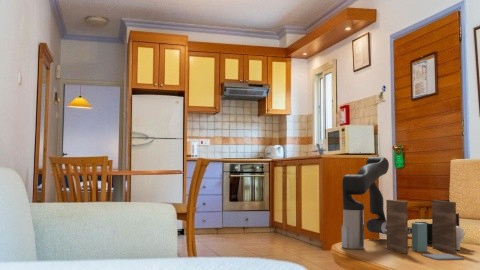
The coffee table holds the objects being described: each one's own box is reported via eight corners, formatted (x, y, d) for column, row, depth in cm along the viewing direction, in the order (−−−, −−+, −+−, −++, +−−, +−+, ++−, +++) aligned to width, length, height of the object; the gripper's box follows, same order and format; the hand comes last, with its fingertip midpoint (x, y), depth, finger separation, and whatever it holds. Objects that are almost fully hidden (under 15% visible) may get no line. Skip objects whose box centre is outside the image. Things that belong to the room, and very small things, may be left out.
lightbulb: (464, 250, 230) (463, 225, 231) (465, 252, 224) (465, 226, 225) (449, 249, 232) (448, 224, 233) (450, 251, 226) (449, 226, 227)
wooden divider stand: (404, 254, 214) (404, 201, 216) (386, 248, 230) (386, 199, 232) (456, 253, 219) (455, 202, 221) (435, 248, 235) (434, 200, 237)
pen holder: (415, 243, 249) (415, 223, 250) (413, 241, 258) (413, 221, 259) (436, 244, 247) (435, 224, 248) (433, 242, 256) (433, 222, 257)
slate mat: (436, 260, 200) (436, 258, 200) (421, 255, 211) (421, 254, 211) (463, 259, 203) (463, 258, 203) (447, 255, 213) (447, 253, 213)
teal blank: (417, 251, 223) (417, 224, 224) (411, 249, 228) (411, 222, 229) (427, 251, 224) (426, 224, 225) (421, 249, 228) (420, 222, 229)
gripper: (378, 220, 250) (394, 224, 234) (405, 221, 252) (422, 224, 237) (378, 236, 249) (394, 240, 233) (405, 236, 252) (423, 240, 236)
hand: (408, 232), depth 235 cm, fingers open, 8 cm apart
